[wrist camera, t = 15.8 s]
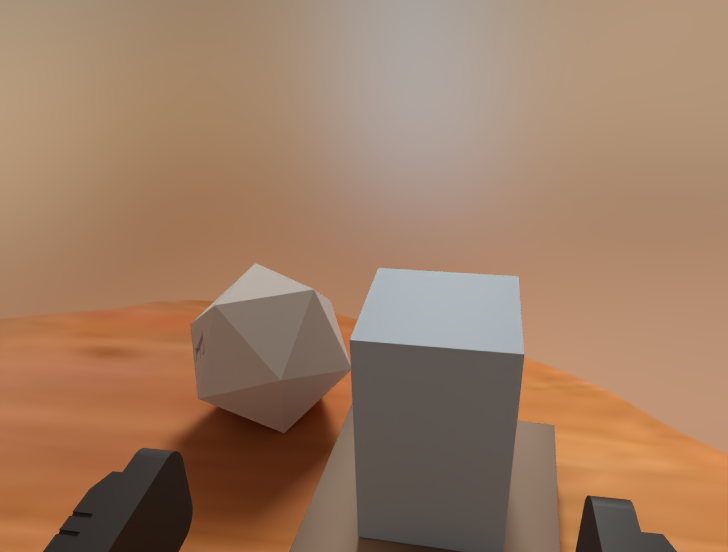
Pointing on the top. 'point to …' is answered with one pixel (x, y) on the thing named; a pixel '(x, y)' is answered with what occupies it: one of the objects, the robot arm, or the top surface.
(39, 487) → the top surface
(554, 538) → the walnut base
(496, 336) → the gray block
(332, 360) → the die
